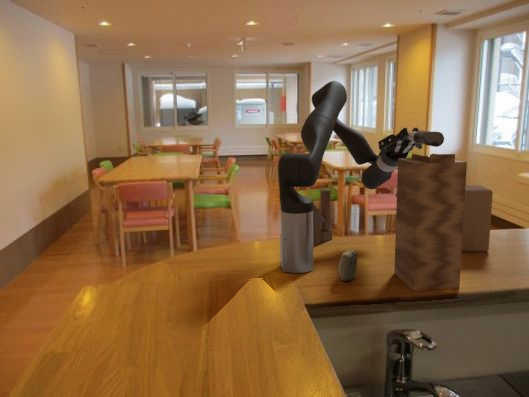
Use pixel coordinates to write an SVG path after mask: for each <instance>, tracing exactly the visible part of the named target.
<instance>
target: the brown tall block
mask: <svg viewBox="0 0 529 397" xmlns="http://www.w3.org/2000/svg"><path fill="white" fill-rule="evenodd" d="M467 166H468V162H467V161H463V160H458V159H456V153H439V154H438V153H431V154H429V156H428V155H421V154H415V153H414V154H413V153H412V154H411V156H410V157H406V158H398V168H397V175H396V176H397V178H396V180H397V181H396V182H397V184H396V185H397V186H396V209H395V211H396V212H395V213H396V216H395V239H394V240H395V241H394V242H395V243H394V244H395V247H394V274H395V276H396V277H398V278H399V279H400V280H401V281H402V282H403V283H404V284H405V285H406V286H407V287H409V289H410V290H411V291H412V292H421V291H438V290H439V291H440V290H441V291H442V290H455V289H456V290H459V289H460V288H461V287H460V285H461V283H460V282H461V266H462V237H463V220H464V203H465V186H467V185H466V184H467V183H466V182H467Z"/></svg>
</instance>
